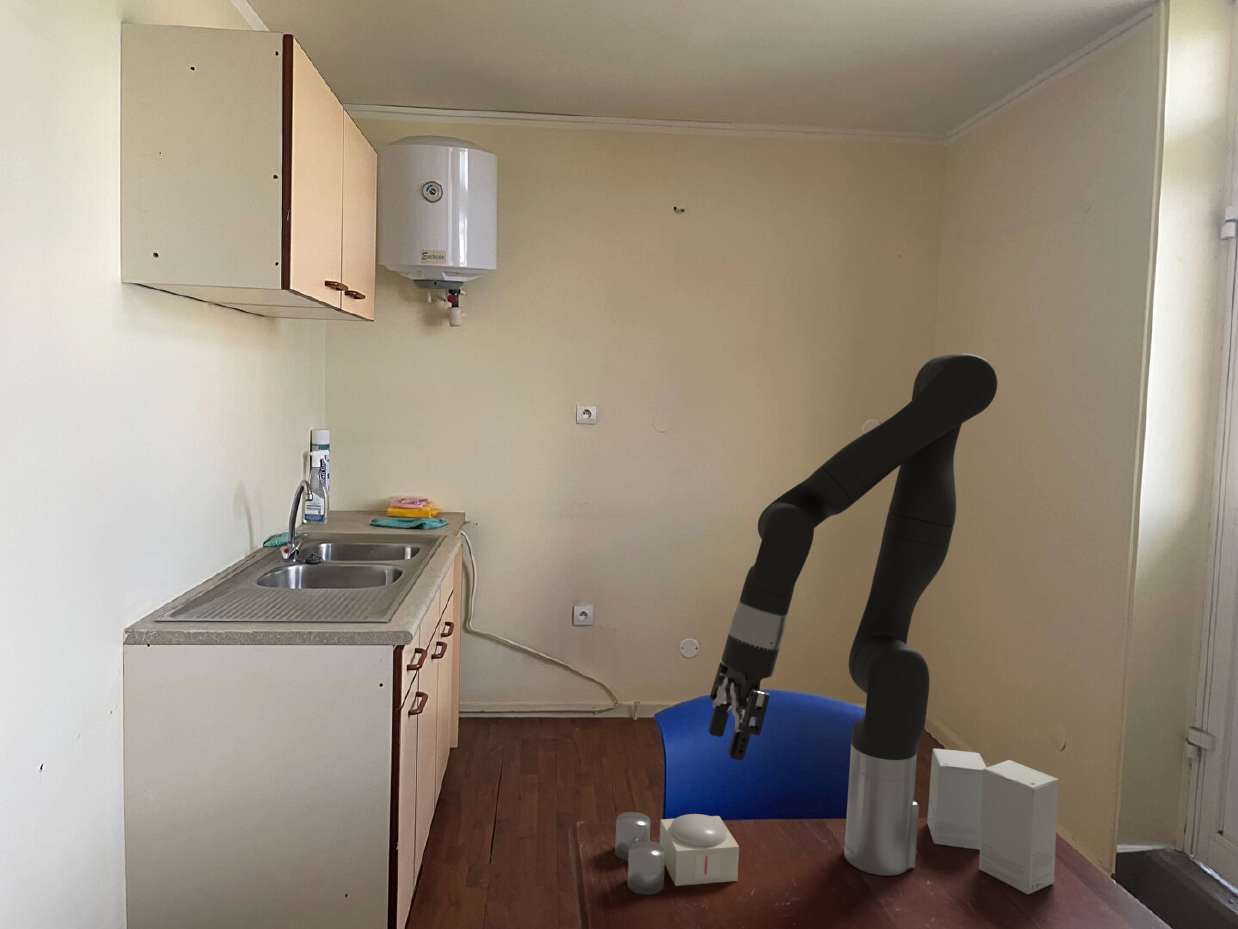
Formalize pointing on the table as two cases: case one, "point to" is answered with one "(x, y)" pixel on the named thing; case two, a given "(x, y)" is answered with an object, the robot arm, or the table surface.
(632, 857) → the cylinder
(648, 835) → the cylinder
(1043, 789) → the skincare box
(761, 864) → the table surface
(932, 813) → the supplement box
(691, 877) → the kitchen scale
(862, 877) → the table surface
